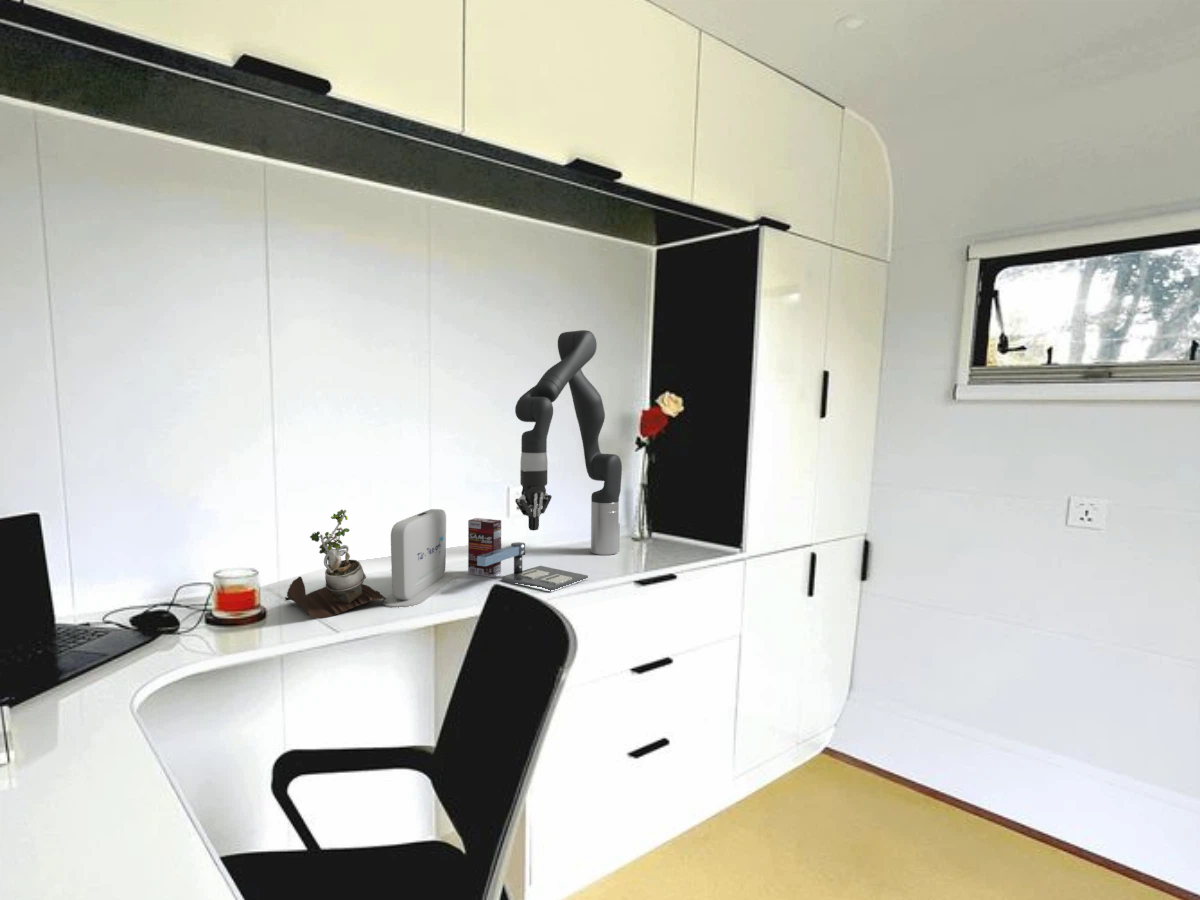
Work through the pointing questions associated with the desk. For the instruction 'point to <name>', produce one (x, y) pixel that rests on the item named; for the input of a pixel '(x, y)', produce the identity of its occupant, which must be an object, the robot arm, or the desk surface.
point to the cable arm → (501, 554)
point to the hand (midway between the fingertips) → (533, 529)
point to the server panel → (541, 576)
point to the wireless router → (418, 558)
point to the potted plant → (334, 579)
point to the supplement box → (483, 545)
